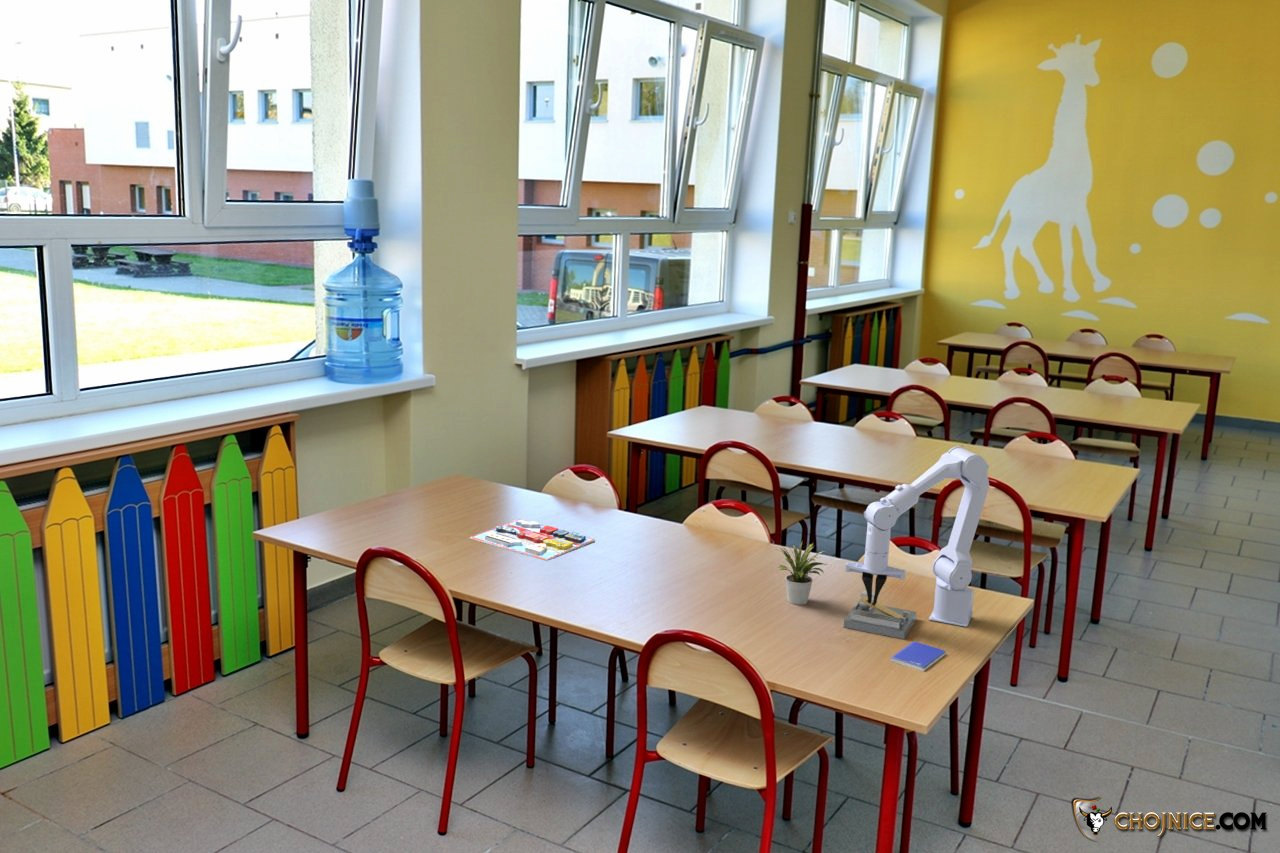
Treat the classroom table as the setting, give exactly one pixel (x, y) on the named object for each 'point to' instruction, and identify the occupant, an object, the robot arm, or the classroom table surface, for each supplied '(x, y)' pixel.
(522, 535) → the puzzle board
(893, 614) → the tan rectangular plate
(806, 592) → the house plant
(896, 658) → the hard drive
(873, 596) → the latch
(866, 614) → the grey slotted fixture base
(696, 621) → the classroom table surface
